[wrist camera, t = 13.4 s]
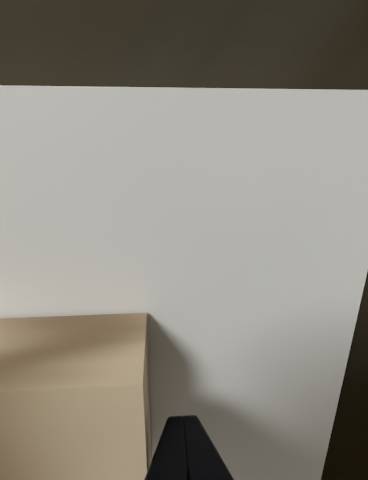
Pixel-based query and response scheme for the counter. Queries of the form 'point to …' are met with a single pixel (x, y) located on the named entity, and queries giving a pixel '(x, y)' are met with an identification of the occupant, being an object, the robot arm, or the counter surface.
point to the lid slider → (75, 398)
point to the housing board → (199, 247)
